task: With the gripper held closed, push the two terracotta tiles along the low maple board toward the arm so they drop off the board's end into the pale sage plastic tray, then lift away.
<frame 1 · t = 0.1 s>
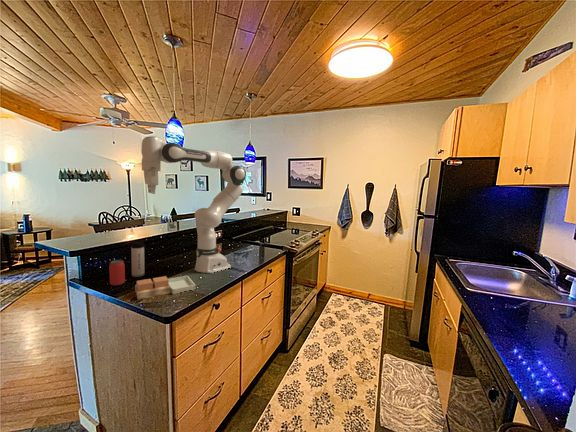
hand: (151, 193, 131), 48 cm above the worktop, fingers open, 8 cm apart
bench: (152, 292, 120), on the worktop
beer can: (117, 283, 127), on the worktop
tile 1: (144, 287, 117), point 3 cm above the worktop, touching bench
tile 2: (160, 284, 122), point 3 cm above the worktop, touching bench
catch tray: (180, 286, 128), on the worktop
travel mug: (138, 275, 140), on the worktop
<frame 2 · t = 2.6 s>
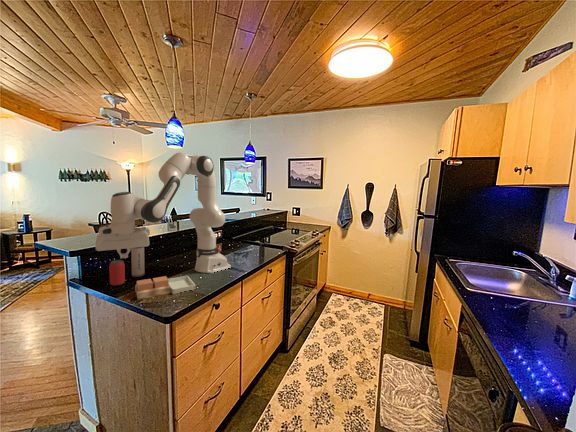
hand: (124, 257, 111), 19 cm above the worktop, fingers closed
nothing on the worktop moved.
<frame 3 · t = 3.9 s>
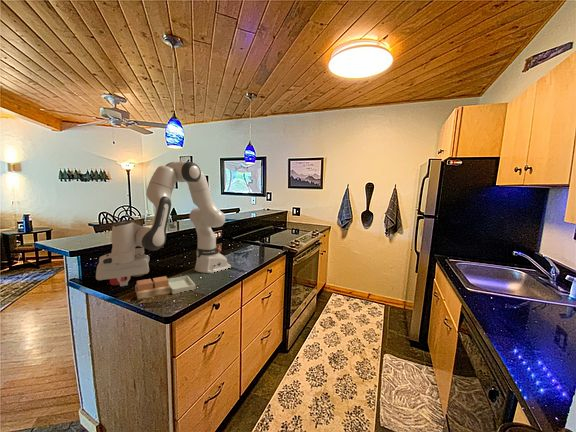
hand: (123, 285, 112), 6 cm above the worktop, fingers closed
nothing on the worktop moved.
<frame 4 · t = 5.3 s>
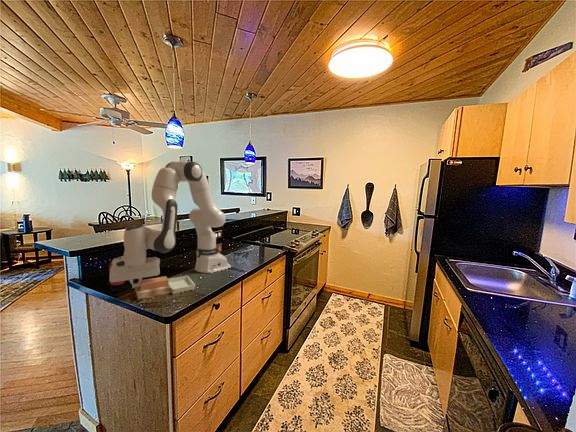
hand: (135, 287, 115), 4 cm above the worktop, fingers closed
tile 1: (147, 287, 118), point 3 cm above the worktop, touching bench, gripper, tile 2
tile 2: (160, 284, 122), point 3 cm above the worktop, touching bench, tile 1
everything else where it was.
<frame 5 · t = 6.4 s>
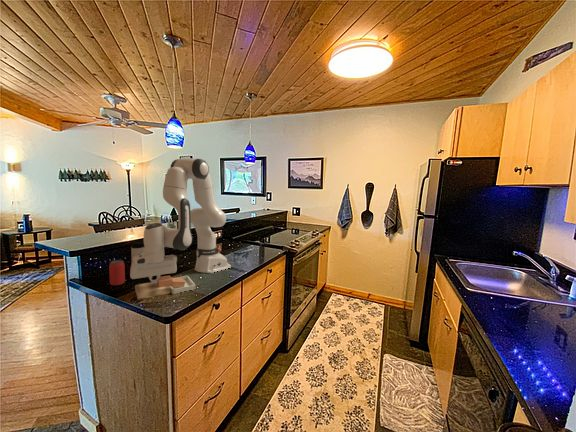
hand: (154, 283, 120), 4 cm above the worktop, fingers closed
tile 1: (164, 284, 123), point 3 cm above the worktop, touching gripper, tile 2
tile 2: (176, 285, 126), point 1 cm above the worktop, tilted 12°, touching tile 1
everything else where it was.
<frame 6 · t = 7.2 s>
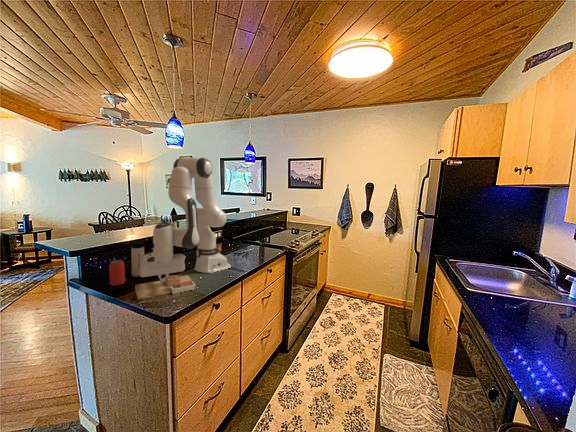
hand: (163, 282, 122), 4 cm above the worktop, fingers closed
tile 1: (172, 283, 125), point 3 cm above the worktop, tilted 7°, touching gripper, tile 2
tile 2: (184, 285, 129), point 1 cm above the worktop, touching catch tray, tile 1
everything else where it was.
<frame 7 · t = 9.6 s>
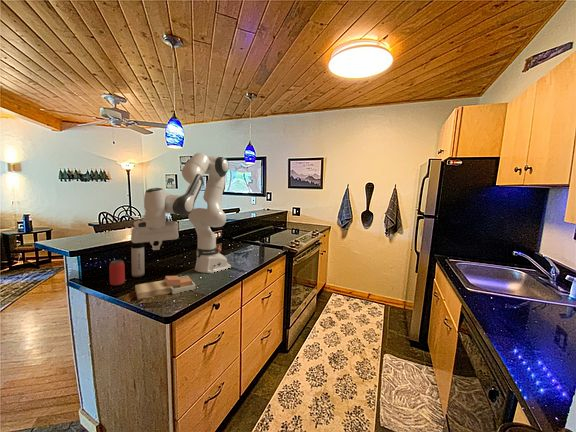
hand: (156, 249, 118), 21 cm above the worktop, fingers closed
tile 1: (172, 283, 125), point 3 cm above the worktop, tilted 9°, touching bench, tile 2
everything else where it was.
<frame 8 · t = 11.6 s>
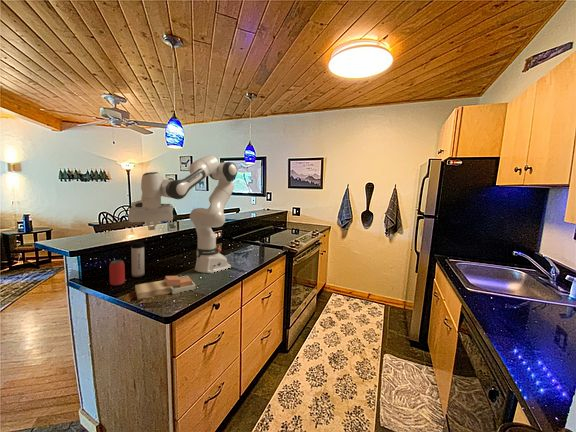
hand: (151, 229, 127), 29 cm above the worktop, fingers closed
nothing on the worktop moved.
at the end: tile 2 inside the target area (1.2 cm from its centre), point 0.5 cm above the worktop; tile 1 inside the target area (5.1 cm from its centre), point 2.7 cm above the worktop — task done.
